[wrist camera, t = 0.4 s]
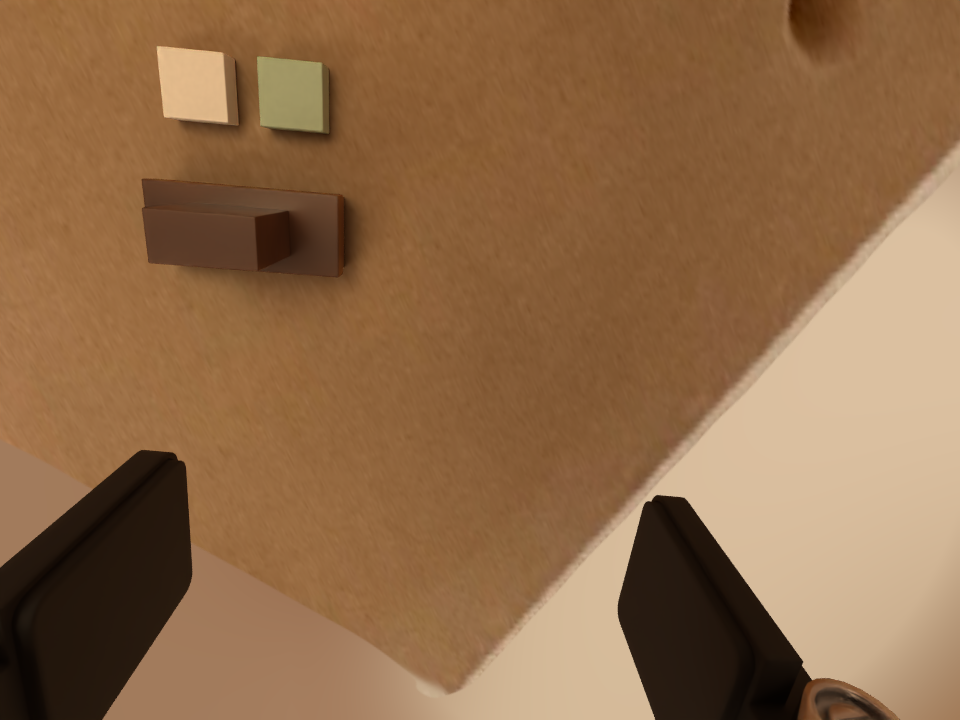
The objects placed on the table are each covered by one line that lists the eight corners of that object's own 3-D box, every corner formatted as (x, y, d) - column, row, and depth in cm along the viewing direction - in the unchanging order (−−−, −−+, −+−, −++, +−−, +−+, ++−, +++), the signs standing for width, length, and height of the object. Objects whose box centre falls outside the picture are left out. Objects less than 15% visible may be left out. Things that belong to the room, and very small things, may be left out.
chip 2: (266, 61, 34) (256, 55, 32) (328, 68, 34) (322, 62, 32) (269, 128, 35) (259, 126, 33) (329, 134, 35) (323, 131, 34)
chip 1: (171, 52, 33) (155, 45, 32) (235, 58, 34) (223, 52, 32) (177, 120, 35) (163, 117, 33) (239, 125, 35) (228, 123, 33)
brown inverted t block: (165, 178, 36) (75, 178, 27) (347, 194, 37) (314, 199, 28) (174, 257, 38) (92, 280, 29) (347, 270, 38) (315, 296, 30)
